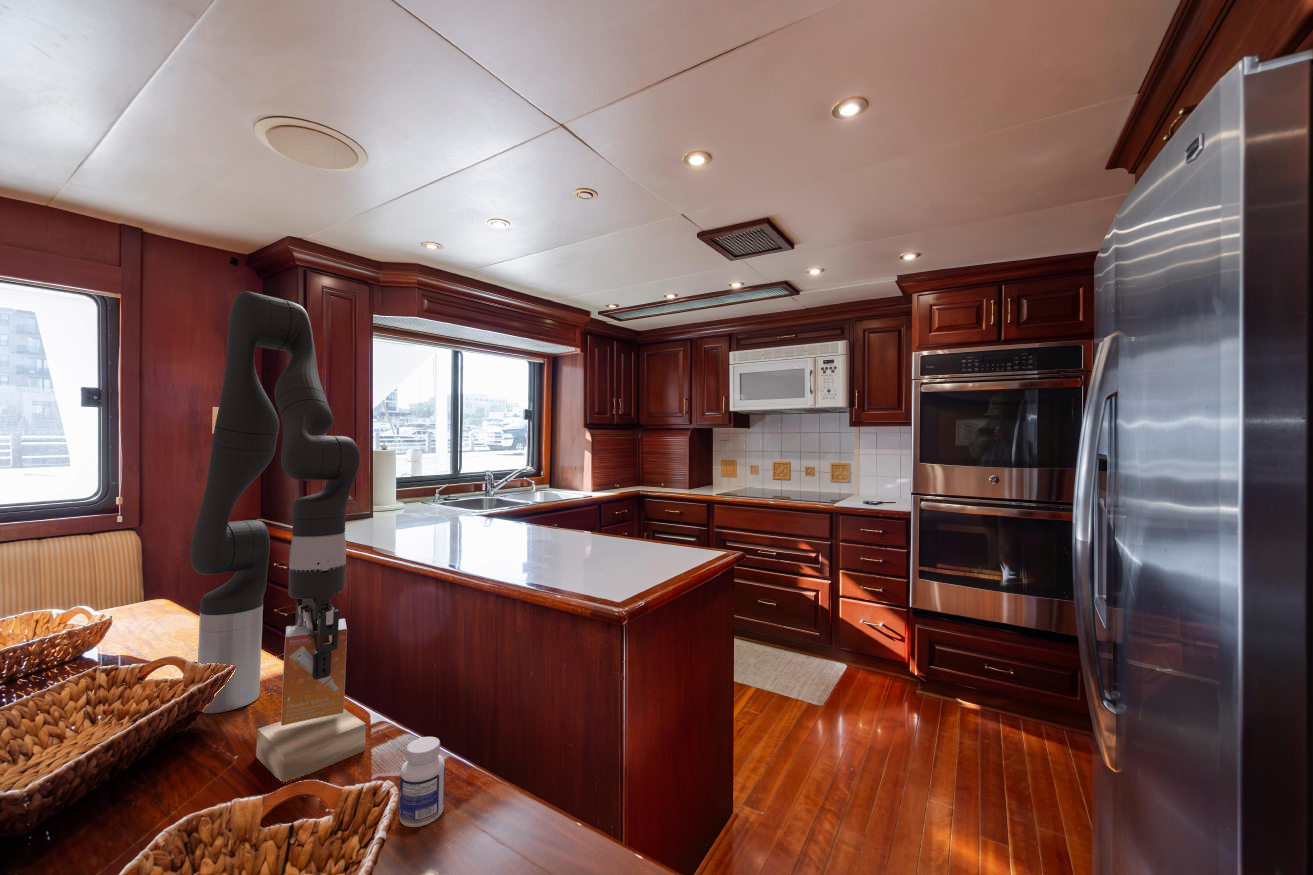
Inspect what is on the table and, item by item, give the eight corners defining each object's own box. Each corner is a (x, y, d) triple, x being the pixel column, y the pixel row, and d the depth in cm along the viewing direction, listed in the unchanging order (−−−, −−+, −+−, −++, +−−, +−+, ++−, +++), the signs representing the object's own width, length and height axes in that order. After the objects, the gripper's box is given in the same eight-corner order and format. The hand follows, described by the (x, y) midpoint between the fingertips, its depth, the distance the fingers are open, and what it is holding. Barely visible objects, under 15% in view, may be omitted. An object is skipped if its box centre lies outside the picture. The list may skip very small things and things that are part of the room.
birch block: (256, 758, 81) (257, 728, 81) (334, 730, 90) (335, 703, 90) (283, 786, 75) (284, 753, 75) (364, 752, 83) (365, 723, 84)
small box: (280, 727, 78) (284, 636, 78) (282, 710, 83) (285, 625, 84) (344, 713, 82) (347, 627, 83) (342, 697, 88) (345, 617, 88)
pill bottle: (411, 800, 72) (413, 732, 72) (450, 801, 71) (452, 733, 72) (390, 827, 66) (392, 754, 67) (432, 829, 66) (434, 755, 66)
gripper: (278, 559, 86) (274, 664, 85) (302, 573, 76) (298, 692, 75) (331, 553, 91) (327, 652, 91) (360, 566, 81) (356, 676, 81)
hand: (314, 670), depth 83 cm, fingers closed on small box, 7 cm apart
